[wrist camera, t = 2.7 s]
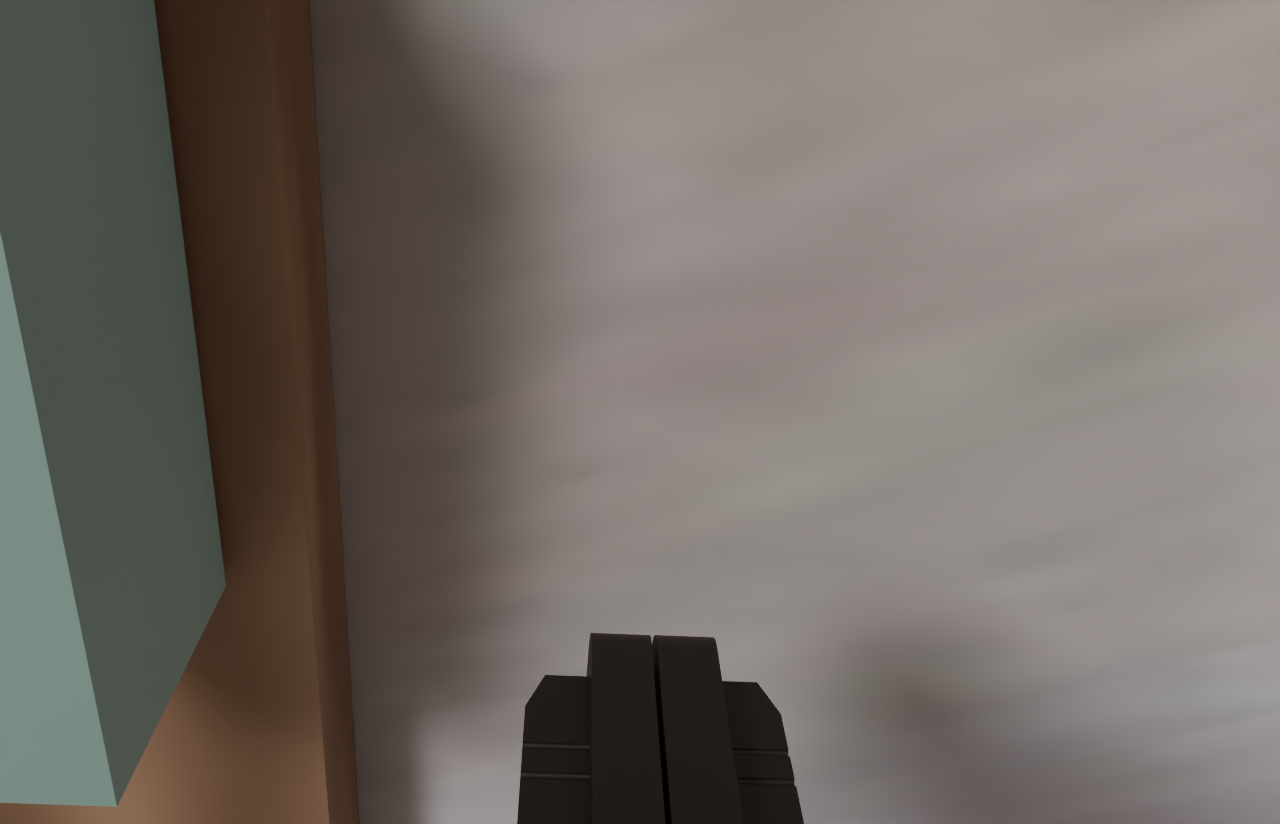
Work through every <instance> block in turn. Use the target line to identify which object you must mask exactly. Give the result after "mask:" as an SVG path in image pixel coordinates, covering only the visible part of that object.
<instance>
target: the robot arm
mask: <svg viewBox="0 0 1280 824" xmlns="http://www.w3.org/2000/svg"><path fill="white" fill-rule="evenodd" d="M517 824H804V822H803V817H802V812H801V807H800V803H799V798H798V793H797V788H796V786H794V774H793V769H792V765H791V760H790V757H788V746H787V741H786V736H785V732H784V727H783V722H782V717H781V714H780V712H779V711H778V710H777V708H776V707H775V706H774V704H773V703H772V702H771V700H770V699H769V698H768V696H767V695H766V694H765V692H764V691H763V690H762V688H761V687H760V686H759V684H758V683H757V682H729V681H722V677H721V671H720V664H719V658H718V651H717V645H716V641H715V639H714V638H713V637H688V636H662V635H655V636H654V638H653V642H651V637H650V635H630V634H604V633H591V634H590V641H589V653H588V665H587V677H583V676H556V675H545V676H544V678H543V679H542V681H541V682H540V684H539V686H538V687H537V689H536V690H535V692H534V693H533V695H532V696H531V698H530V699H529V701H528V702H527V704H526V706H525V719H524V733H523V749H522V763H521V778H520V792H519V807H518V822H517Z"/></svg>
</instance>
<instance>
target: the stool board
mask: <svg viewBox="0 0 1280 824" xmlns="http://www.w3.org/2000/svg"><path fill="white" fill-rule="evenodd" d="M154 5H155V13H156V21H157V29H158V37H159V45H160V54H161V62H162V70H163V78H164V86H165V94H166V102H167V110H168V119H169V127H170V135H171V143H172V151H173V159H174V167H175V176H176V184H177V192H178V200H179V208H180V216H181V224H182V232H183V241H184V249H185V257H186V265H187V273H188V281H189V289H190V297H191V306H192V314H193V322H194V330H195V338H196V346H197V354H198V362H199V371H200V379H201V387H202V395H203V403H204V411H205V419H206V427H207V436H208V444H209V452H210V460H211V468H212V476H213V484H214V493H215V501H216V509H217V517H218V525H219V533H220V541H221V549H222V558H223V566H224V574H225V582H226V587H225V589H224V591H223V593H222V595H221V597H220V599H219V601H218V603H217V605H216V607H215V609H214V611H213V613H212V615H211V617H210V619H209V621H208V623H207V625H206V627H205V630H204V632H203V634H202V636H201V638H200V640H199V642H198V644H197V646H196V648H195V650H194V652H193V654H192V656H191V658H190V660H189V662H188V664H187V666H186V668H185V670H184V672H183V674H182V676H181V678H180V680H179V682H178V684H177V686H176V688H175V690H174V692H173V694H172V696H171V698H170V700H169V702H168V704H167V707H166V709H165V711H164V713H163V715H162V717H161V719H160V721H159V723H158V725H157V727H156V729H155V731H154V733H153V735H152V737H151V739H150V741H149V743H148V745H147V747H146V749H145V751H144V753H143V755H142V757H141V759H140V761H139V763H138V765H137V767H136V769H135V771H134V773H133V775H132V777H131V779H130V781H129V783H128V786H127V788H126V790H125V792H124V794H123V796H122V798H121V800H120V802H119V804H118V806H117V807H107V806H79V805H51V804H23V803H0V824H359V812H358V796H357V779H356V763H355V747H354V731H353V714H352V698H351V682H350V665H349V649H348V633H347V617H346V600H345V584H344V568H343V551H342V535H341V519H340V503H339V486H338V470H337V454H336V437H335V421H334V405H333V389H332V372H331V356H330V340H329V324H328V307H327V291H326V275H325V258H324V242H323V226H322V210H321V193H320V177H319V161H318V144H317V128H316V112H315V96H314V79H313V63H312V47H311V30H310V14H309V0H154Z"/></svg>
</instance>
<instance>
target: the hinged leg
mask: <svg viewBox="0 0 1280 824" xmlns="http://www.w3.org/2000/svg"><path fill="white" fill-rule="evenodd" d="M225 587H226V582H225V574H224V566H223V558H222V549H221V541H220V533H219V525H218V517H217V509H216V501H215V493H214V484H213V476H212V468H211V460H210V452H209V444H208V436H207V427H206V419H205V411H204V403H203V395H202V387H201V379H200V371H199V362H198V354H197V346H196V338H195V330H194V322H193V314H192V306H191V297H190V289H189V281H188V273H187V265H186V257H185V249H184V241H183V232H182V224H181V216H180V208H179V200H178V192H177V184H176V176H175V167H174V159H173V151H172V143H171V135H170V127H169V119H168V110H167V102H166V94H165V86H164V78H163V70H162V62H161V54H160V45H159V37H158V29H157V21H156V13H155V5H154V0H0V803H23V804H51V805H79V806H107V807H117V806H118V804H119V802H120V800H121V798H122V796H123V794H124V792H125V790H126V788H127V786H128V783H129V781H130V779H131V777H132V775H133V773H134V771H135V769H136V767H137V765H138V763H139V761H140V759H141V757H142V755H143V753H144V751H145V749H146V747H147V745H148V743H149V741H150V739H151V737H152V735H153V733H154V731H155V729H156V727H157V725H158V723H159V721H160V719H161V717H162V715H163V713H164V711H165V709H166V707H167V704H168V702H169V700H170V698H171V696H172V694H173V692H174V690H175V688H176V686H177V684H178V682H179V680H180V678H181V676H182V674H183V672H184V670H185V668H186V666H187V664H188V662H189V660H190V658H191V656H192V654H193V652H194V650H195V648H196V646H197V644H198V642H199V640H200V638H201V636H202V634H203V632H204V630H205V627H206V625H207V623H208V621H209V619H210V617H211V615H212V613H213V611H214V609H215V607H216V605H217V603H218V601H219V599H220V597H221V595H222V593H223V591H224V589H225Z"/></svg>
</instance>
